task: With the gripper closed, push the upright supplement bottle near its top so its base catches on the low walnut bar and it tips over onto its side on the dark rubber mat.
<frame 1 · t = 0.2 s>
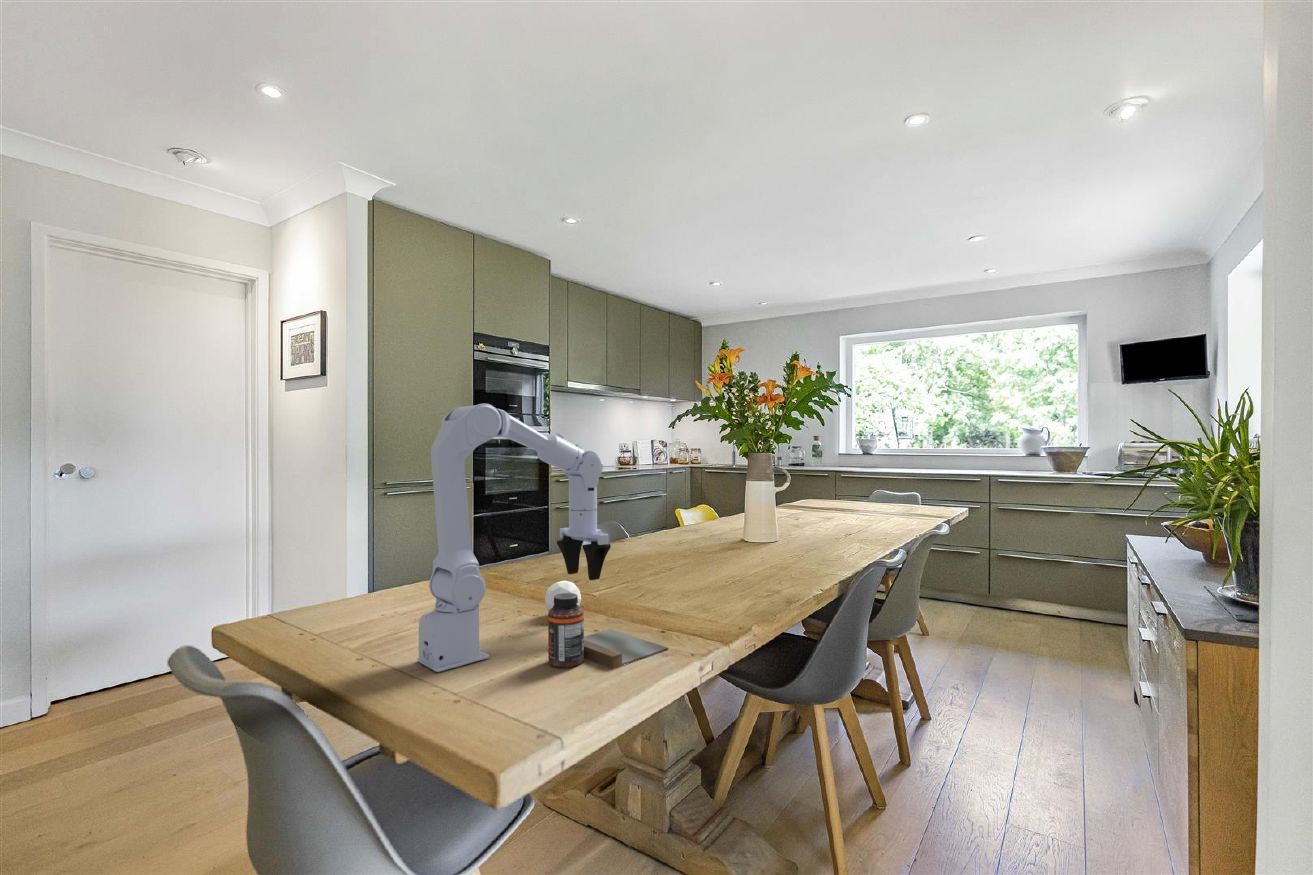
hand: (583, 576, 121), 10 cm above the table, tool pointing down, fingers open, 7 cm apart
supplement bottle: (566, 663, 100), on the table
geometric ball: (563, 617, 128), on the table
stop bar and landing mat: (587, 655, 104), on the table
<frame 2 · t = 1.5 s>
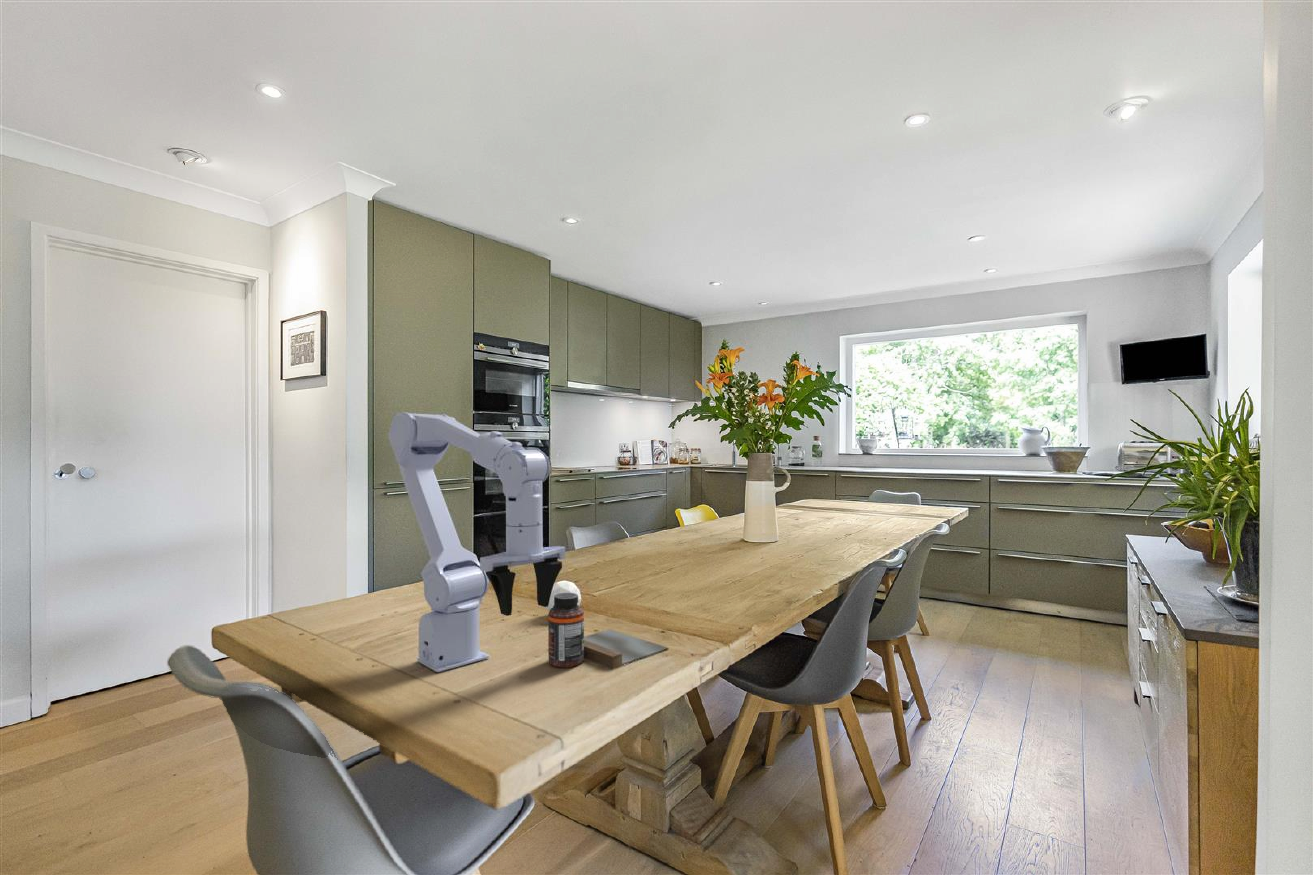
hand: (525, 609, 95), 10 cm above the table, tool pointing down, fingers open, 6 cm apart
nothing on the table moved.
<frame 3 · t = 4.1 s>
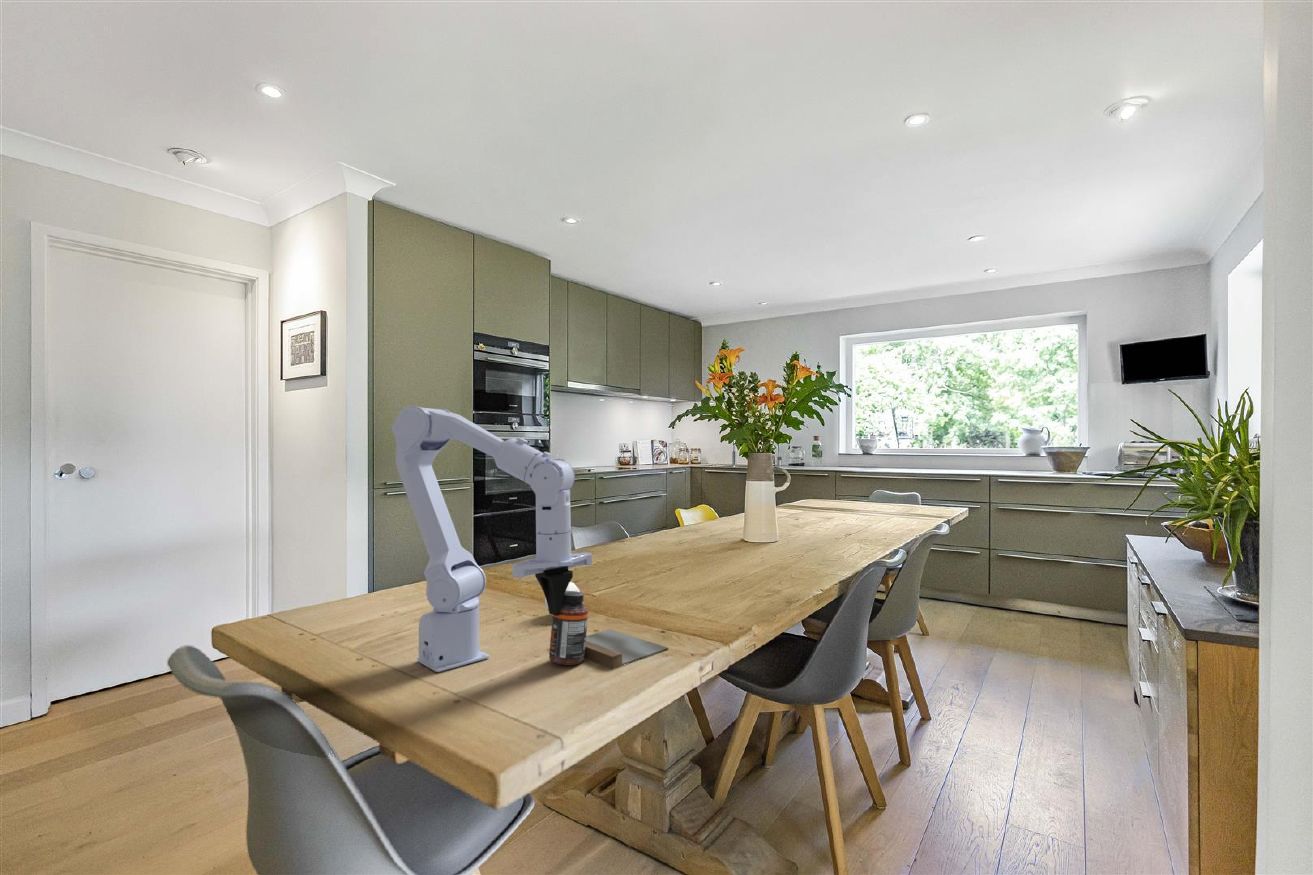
hand: (554, 614, 99), 9 cm above the table, tool pointing down, fingers closed
supplement bottle: (566, 662, 100), on the table, touching gripper
everything else where it was.
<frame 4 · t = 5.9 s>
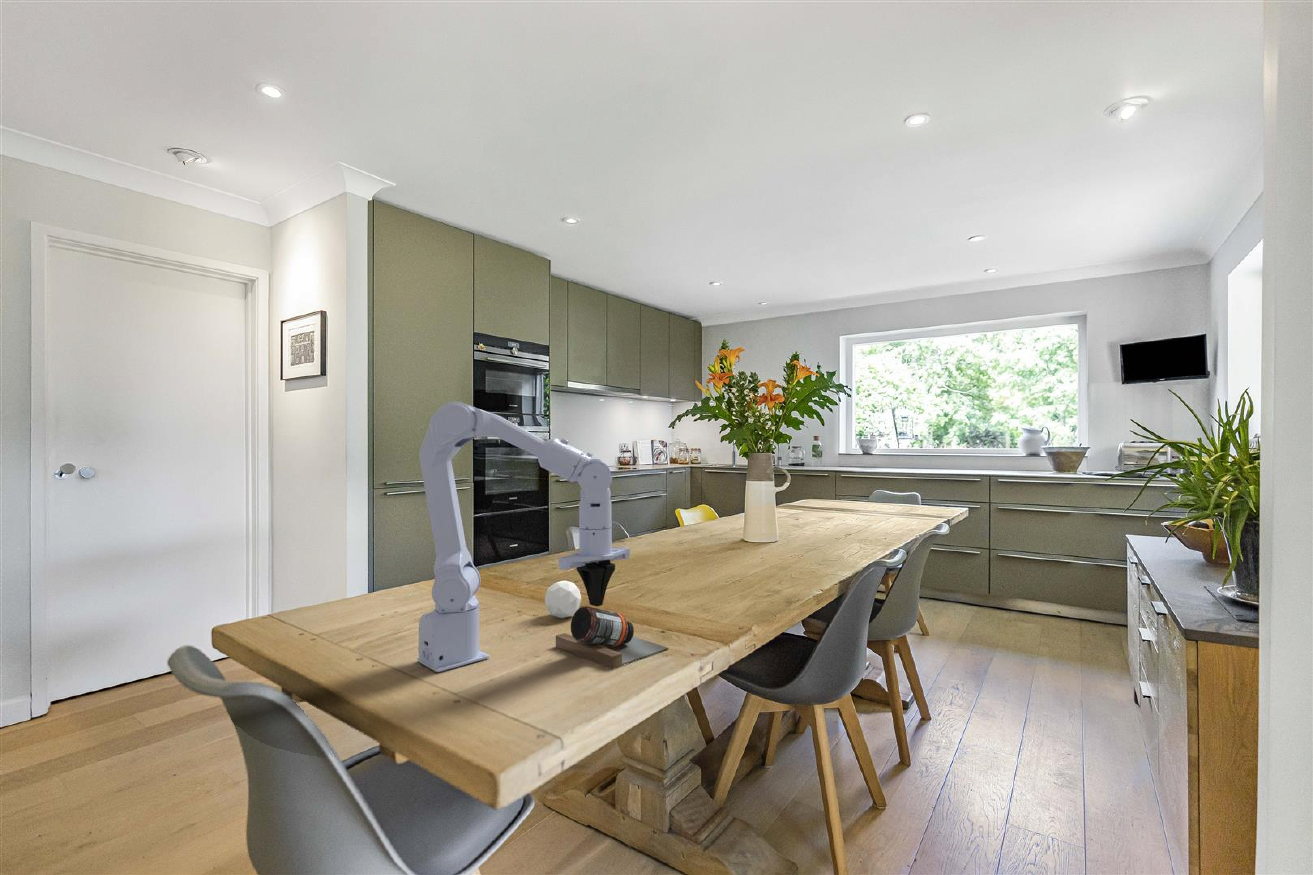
hand: (596, 604, 105), 8 cm above the table, tool pointing down, fingers closed
supplement bottle: (579, 622, 102), point 6 cm above the table, touching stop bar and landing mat
everything else where it was.
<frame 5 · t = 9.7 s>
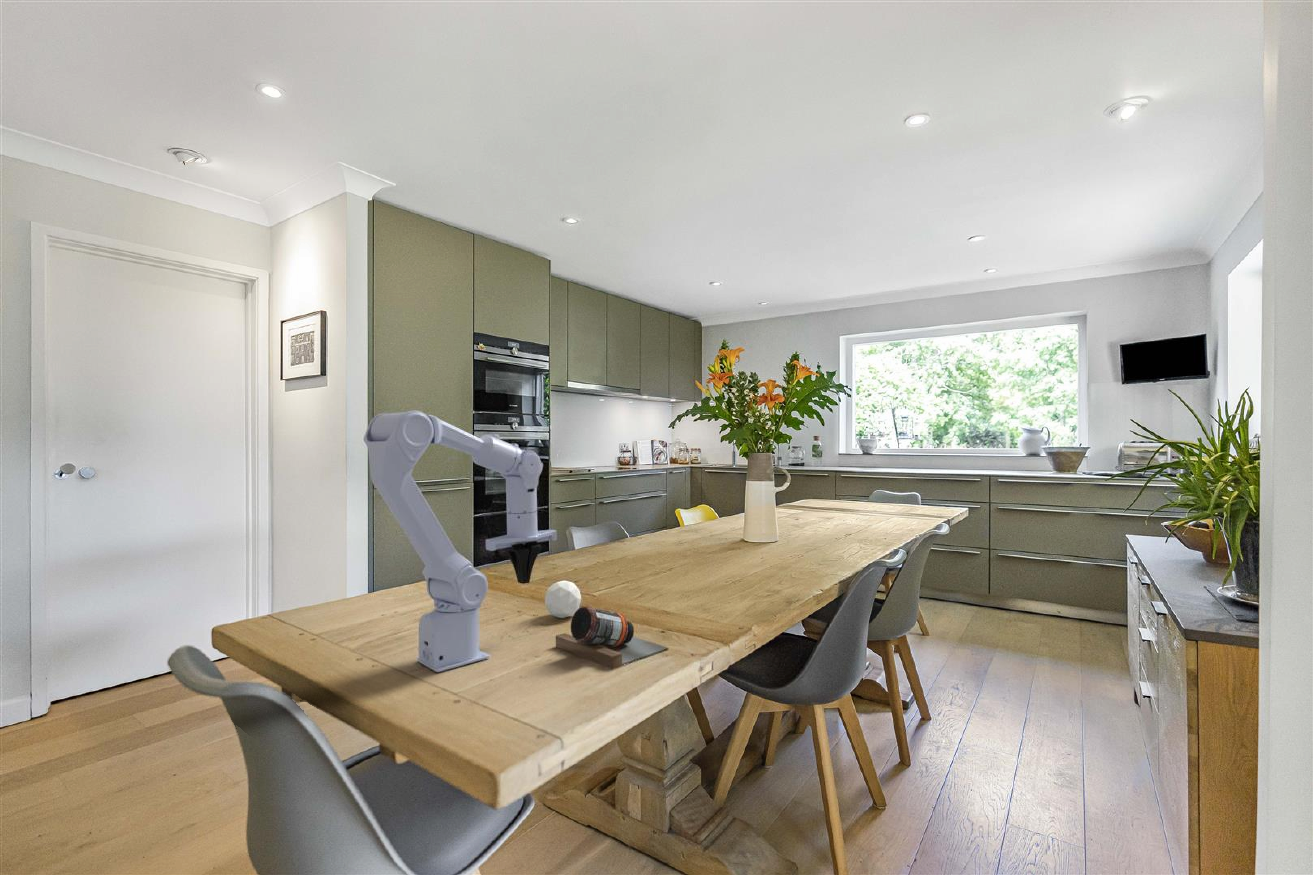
hand: (523, 582, 114), 10 cm above the table, tool pointing down, fingers closed
nothing on the table moved.
at the end: supplement bottle tilted 111°; supplement bottle inside the target area (5.5 cm from its centre), point 6.2 cm above the table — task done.
